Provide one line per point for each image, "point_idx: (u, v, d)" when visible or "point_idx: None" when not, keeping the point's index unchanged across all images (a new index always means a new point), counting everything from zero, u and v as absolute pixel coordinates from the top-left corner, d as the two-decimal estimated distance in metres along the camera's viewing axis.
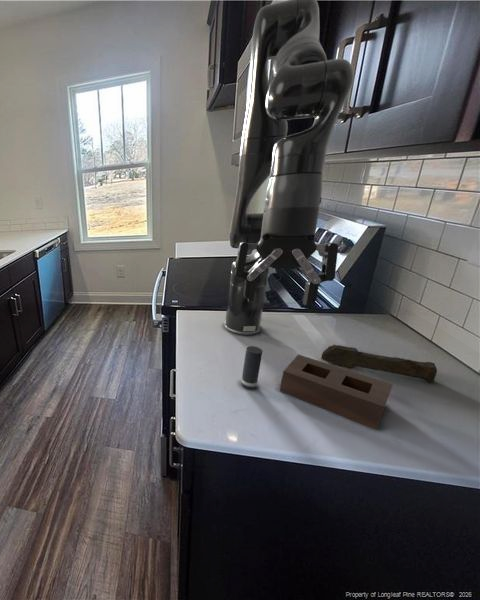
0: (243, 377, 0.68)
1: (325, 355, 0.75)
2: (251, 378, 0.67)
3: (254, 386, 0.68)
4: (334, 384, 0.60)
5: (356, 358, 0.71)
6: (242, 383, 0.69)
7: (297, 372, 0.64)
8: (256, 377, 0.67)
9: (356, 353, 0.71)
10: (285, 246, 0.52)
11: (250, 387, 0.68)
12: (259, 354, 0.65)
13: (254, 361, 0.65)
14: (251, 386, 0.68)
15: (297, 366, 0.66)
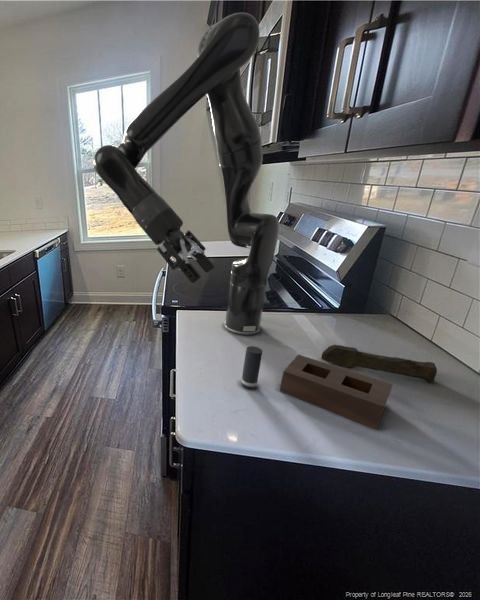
0: (243, 377, 0.68)
1: (325, 355, 0.75)
2: (251, 378, 0.67)
3: (254, 386, 0.68)
4: (334, 384, 0.60)
5: (356, 358, 0.71)
6: (242, 383, 0.69)
7: (297, 372, 0.64)
8: (256, 377, 0.67)
9: (357, 353, 0.71)
10: None
11: (250, 387, 0.68)
12: (259, 354, 0.65)
13: (254, 361, 0.65)
14: (251, 386, 0.68)
15: (297, 366, 0.66)
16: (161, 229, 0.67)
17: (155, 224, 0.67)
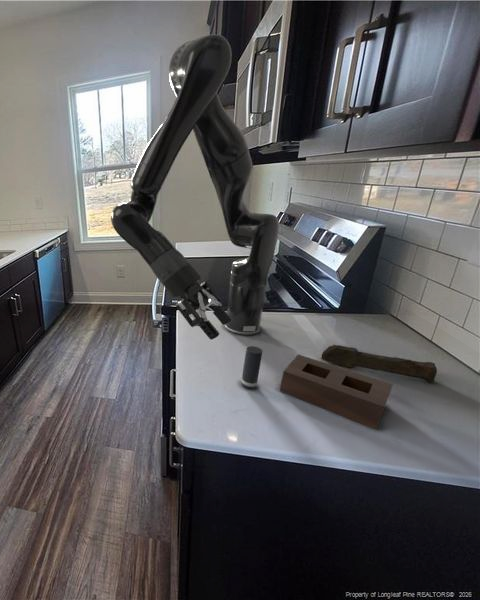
0: (243, 377, 0.68)
1: (325, 355, 0.75)
2: (251, 378, 0.67)
3: (254, 386, 0.68)
4: (334, 384, 0.60)
5: (356, 358, 0.71)
6: (242, 383, 0.69)
7: (297, 372, 0.64)
8: (256, 377, 0.67)
9: (357, 353, 0.71)
10: None
11: (250, 387, 0.68)
12: (259, 354, 0.65)
13: (254, 361, 0.65)
14: (251, 386, 0.68)
15: (297, 366, 0.66)
16: (180, 286, 0.68)
17: (174, 280, 0.69)
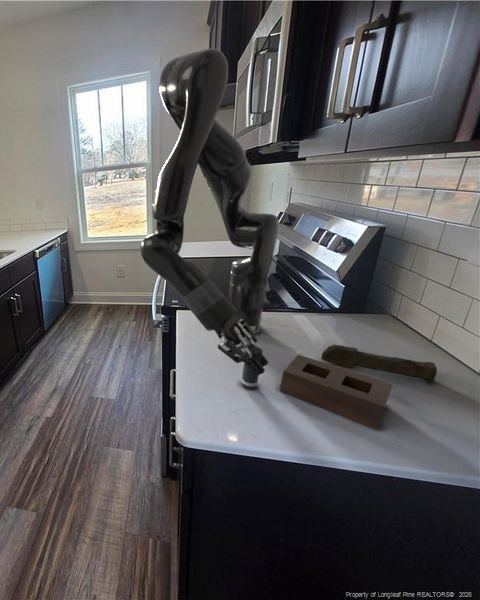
0: (243, 377, 0.68)
1: (325, 355, 0.75)
2: (251, 378, 0.67)
3: (255, 386, 0.68)
4: (334, 384, 0.60)
5: (356, 358, 0.71)
6: (242, 383, 0.69)
7: (297, 372, 0.64)
8: (256, 377, 0.67)
9: (357, 353, 0.71)
10: None
11: (250, 387, 0.68)
12: (259, 354, 0.65)
13: None
14: (251, 386, 0.68)
15: (297, 366, 0.66)
16: (216, 320, 0.66)
17: (209, 314, 0.66)
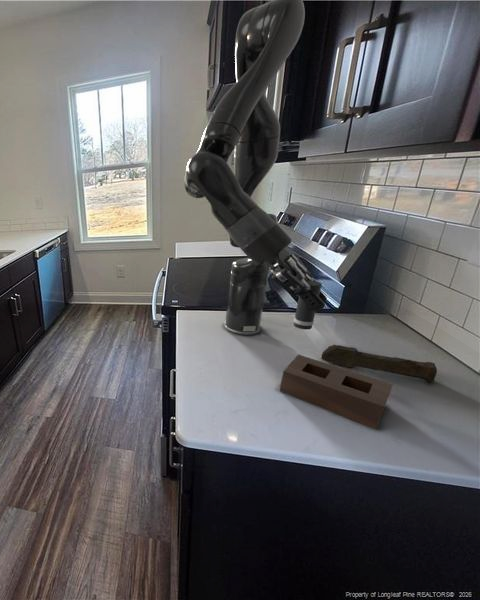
0: (297, 316, 0.61)
1: (325, 355, 0.75)
2: (307, 316, 0.60)
3: (310, 326, 0.61)
4: (334, 384, 0.60)
5: (356, 358, 0.71)
6: (295, 323, 0.62)
7: (297, 372, 0.64)
8: (313, 315, 0.60)
9: (357, 353, 0.71)
10: None
11: (305, 327, 0.61)
12: (318, 286, 0.58)
13: None
14: (307, 325, 0.60)
15: (297, 366, 0.66)
16: (269, 249, 0.58)
17: (261, 243, 0.59)
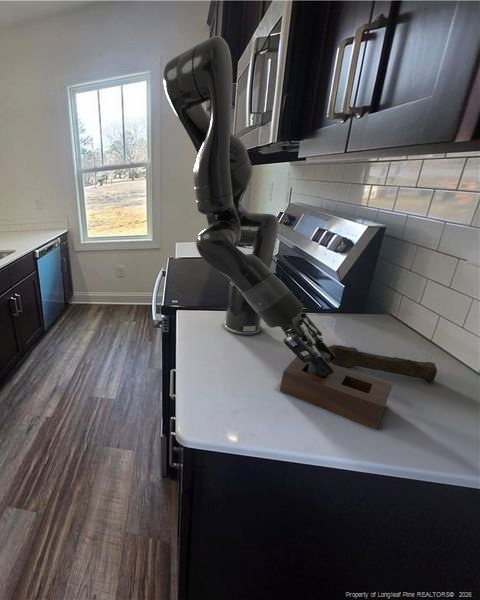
0: None
1: None
2: None
3: None
4: (334, 384, 0.60)
5: (356, 358, 0.71)
6: None
7: (297, 372, 0.64)
8: None
9: (357, 353, 0.71)
10: None
11: None
12: (327, 359, 0.62)
13: None
14: None
15: (297, 366, 0.66)
16: (283, 316, 0.62)
17: (275, 310, 0.62)
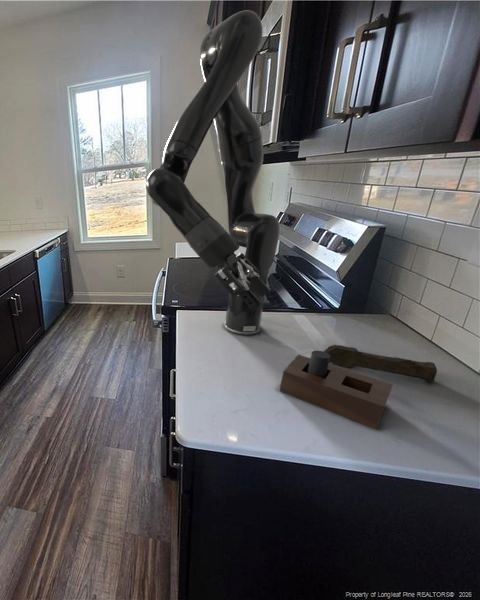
0: None
1: None
2: None
3: None
4: (334, 384, 0.60)
5: (356, 358, 0.71)
6: None
7: (297, 372, 0.64)
8: None
9: (357, 353, 0.71)
10: None
11: None
12: (327, 359, 0.62)
13: (322, 366, 0.62)
14: None
15: (297, 366, 0.66)
16: (219, 254, 0.65)
17: (212, 249, 0.66)
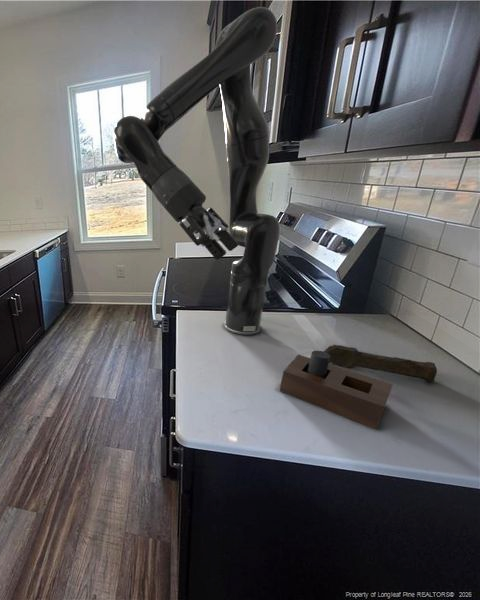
0: None
1: None
2: None
3: None
4: (334, 384, 0.60)
5: (356, 358, 0.71)
6: None
7: (297, 372, 0.64)
8: None
9: (357, 353, 0.71)
10: None
11: None
12: (327, 359, 0.62)
13: (322, 366, 0.62)
14: None
15: (297, 366, 0.66)
16: (184, 204, 0.64)
17: (177, 199, 0.64)
